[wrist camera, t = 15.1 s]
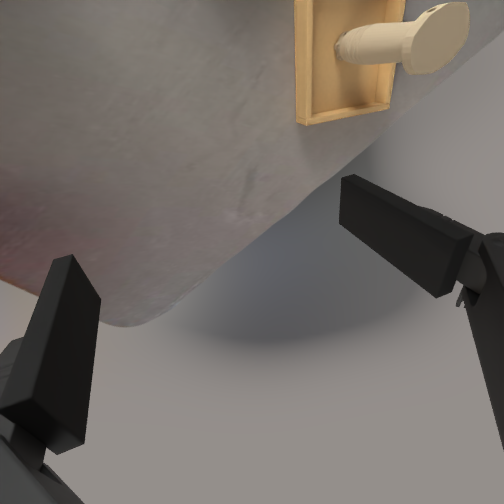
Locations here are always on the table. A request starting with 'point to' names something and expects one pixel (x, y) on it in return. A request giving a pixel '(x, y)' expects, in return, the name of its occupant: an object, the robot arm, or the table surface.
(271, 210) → the table surface
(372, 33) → the handle
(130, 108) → the table surface
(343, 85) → the tray
